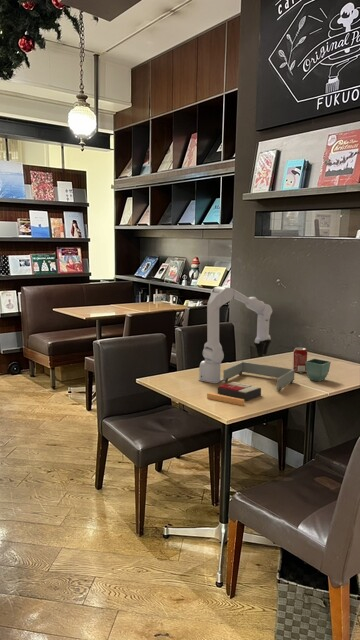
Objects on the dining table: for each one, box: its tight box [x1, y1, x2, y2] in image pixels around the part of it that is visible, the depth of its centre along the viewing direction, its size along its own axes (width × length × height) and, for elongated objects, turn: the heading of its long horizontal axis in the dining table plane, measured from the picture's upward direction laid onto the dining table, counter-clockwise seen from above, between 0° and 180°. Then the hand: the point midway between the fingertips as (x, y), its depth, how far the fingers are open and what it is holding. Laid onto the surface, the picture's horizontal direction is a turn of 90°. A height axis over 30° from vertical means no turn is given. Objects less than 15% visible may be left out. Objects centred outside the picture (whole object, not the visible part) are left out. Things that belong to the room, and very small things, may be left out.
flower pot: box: [305, 358, 331, 382], centre depth 218 cm, size 9×9×9 cm
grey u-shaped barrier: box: [222, 361, 296, 392], centre depth 213 cm, size 27×20×6 cm
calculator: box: [217, 381, 262, 402], centre depth 195 cm, size 11×4×15 cm
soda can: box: [292, 346, 308, 374], centre depth 233 cm, size 7×7×12 cm
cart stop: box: [206, 392, 245, 406], centre depth 186 cm, size 16×2×2 cm, turn 57°
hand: (262, 355), depth 227 cm, fingers open, 4 cm apart
